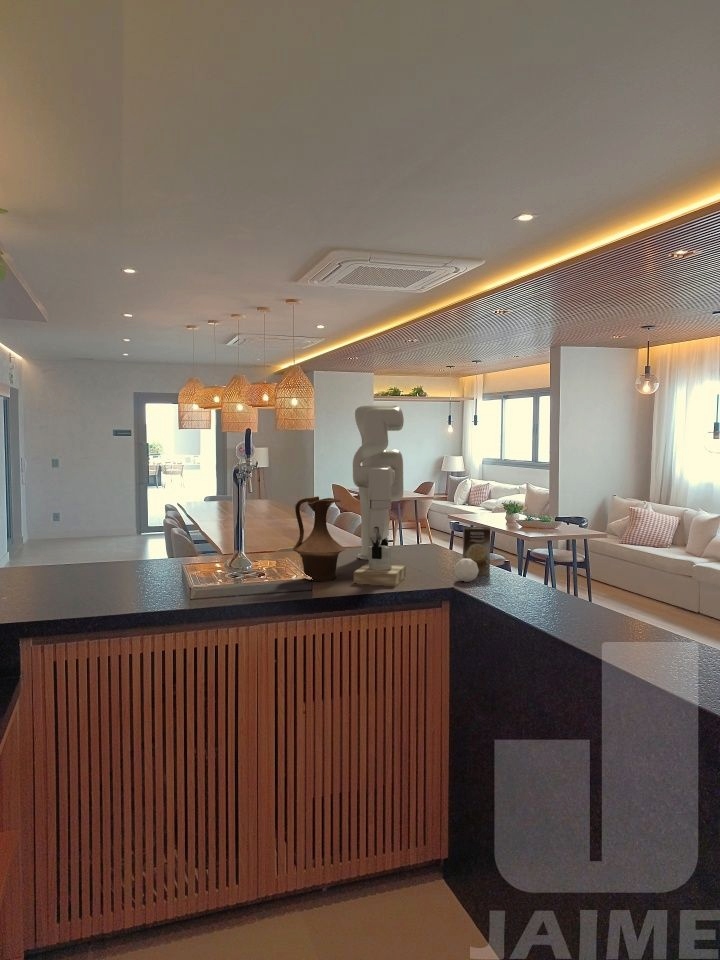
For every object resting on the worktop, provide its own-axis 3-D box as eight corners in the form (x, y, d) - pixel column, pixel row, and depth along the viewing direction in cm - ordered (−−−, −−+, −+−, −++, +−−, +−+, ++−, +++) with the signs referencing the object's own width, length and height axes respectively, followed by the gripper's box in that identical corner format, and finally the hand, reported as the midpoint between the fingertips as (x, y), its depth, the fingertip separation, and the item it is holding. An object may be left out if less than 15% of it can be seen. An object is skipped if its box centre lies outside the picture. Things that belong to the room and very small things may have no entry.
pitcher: (296, 585, 222) (295, 499, 220) (290, 574, 239) (289, 494, 237) (349, 582, 226) (348, 497, 224) (340, 572, 242) (339, 493, 240)
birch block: (366, 578, 237) (366, 563, 236) (405, 580, 232) (405, 565, 232) (353, 587, 223) (353, 572, 223) (395, 589, 219) (395, 574, 219)
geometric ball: (473, 589, 225) (485, 572, 221) (452, 582, 223) (464, 565, 219) (468, 574, 231) (480, 557, 228) (447, 567, 229) (459, 550, 225)
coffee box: (463, 575, 235) (463, 528, 234) (462, 571, 241) (462, 526, 240) (490, 575, 234) (490, 529, 233) (488, 571, 240) (488, 526, 239)
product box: (385, 566, 231) (384, 544, 231) (392, 569, 226) (391, 547, 225) (368, 567, 229) (367, 546, 229) (374, 571, 224) (374, 548, 223)
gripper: (374, 501, 235) (375, 551, 236) (362, 507, 219) (362, 560, 220) (396, 502, 233) (396, 552, 235) (385, 508, 217) (385, 561, 218)
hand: (380, 556), depth 227 cm, fingers open, 9 cm apart
